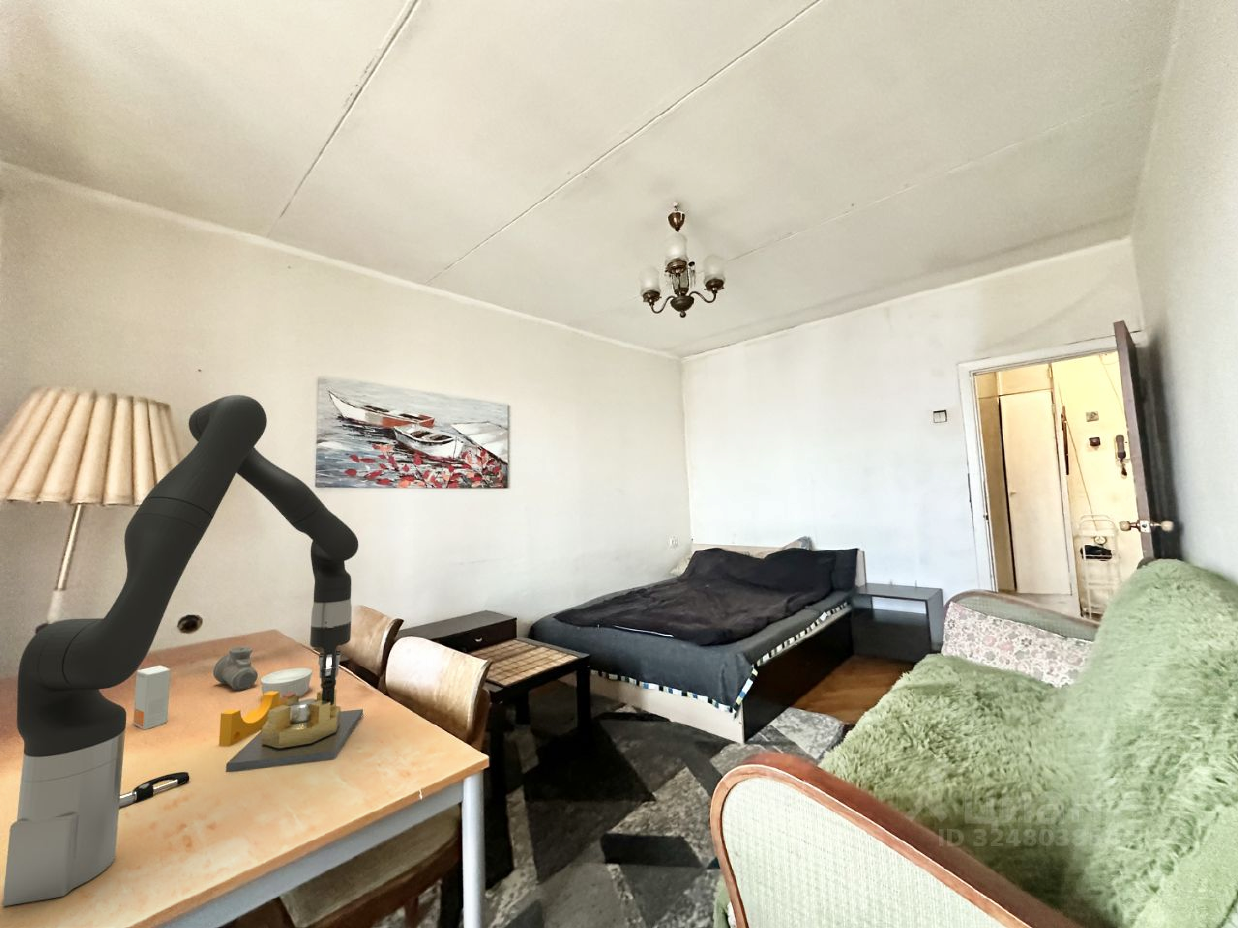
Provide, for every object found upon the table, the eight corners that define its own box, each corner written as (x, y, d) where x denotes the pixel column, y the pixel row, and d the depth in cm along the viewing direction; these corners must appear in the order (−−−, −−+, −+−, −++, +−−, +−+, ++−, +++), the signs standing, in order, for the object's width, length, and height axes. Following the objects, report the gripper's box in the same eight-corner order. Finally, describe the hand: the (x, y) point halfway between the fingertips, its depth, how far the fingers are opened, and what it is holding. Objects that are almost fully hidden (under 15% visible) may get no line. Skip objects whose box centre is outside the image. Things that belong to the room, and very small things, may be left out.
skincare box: (131, 724, 109) (136, 670, 110) (156, 717, 112) (160, 664, 113) (143, 730, 106) (147, 674, 107) (168, 722, 110) (172, 668, 111)
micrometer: (182, 772, 90) (183, 757, 90) (193, 784, 85) (194, 769, 86) (59, 813, 77) (61, 797, 78) (65, 830, 73) (67, 813, 74)
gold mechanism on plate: (334, 758, 93) (336, 718, 94) (224, 772, 89) (226, 729, 89) (362, 715, 112) (363, 682, 113) (273, 724, 108) (275, 690, 109)
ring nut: (255, 752, 92) (257, 715, 93) (274, 724, 104) (276, 691, 105) (332, 739, 97) (334, 704, 98) (343, 714, 109) (344, 683, 110)
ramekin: (271, 707, 118) (272, 685, 118) (251, 698, 123) (252, 677, 124) (319, 692, 127) (320, 672, 127) (298, 684, 133) (299, 665, 133)
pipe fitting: (209, 684, 132) (217, 646, 133) (244, 678, 139) (252, 642, 140) (223, 699, 125) (231, 659, 126) (259, 692, 132) (267, 654, 132)
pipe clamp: (261, 719, 111) (263, 690, 112) (278, 720, 110) (279, 691, 111) (211, 745, 99) (213, 712, 100) (230, 746, 99) (232, 713, 99)
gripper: (313, 617, 108) (309, 697, 106) (308, 630, 96) (303, 720, 95) (351, 613, 112) (348, 691, 110) (351, 625, 100) (347, 712, 98)
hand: (327, 704), depth 102 cm, fingers closed
